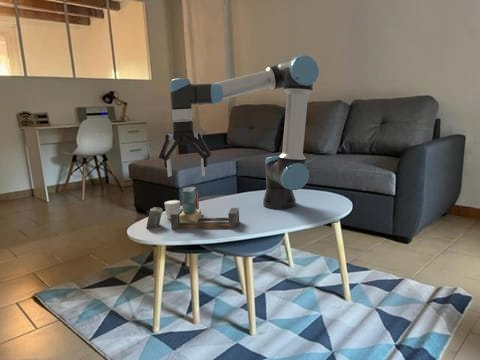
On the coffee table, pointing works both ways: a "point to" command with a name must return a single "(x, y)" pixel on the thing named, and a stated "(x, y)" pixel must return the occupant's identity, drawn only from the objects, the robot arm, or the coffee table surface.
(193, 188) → the soda can
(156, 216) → the mineral specimen
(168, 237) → the coffee table surface
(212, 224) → the rail
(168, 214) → the white cup
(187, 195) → the carriage
